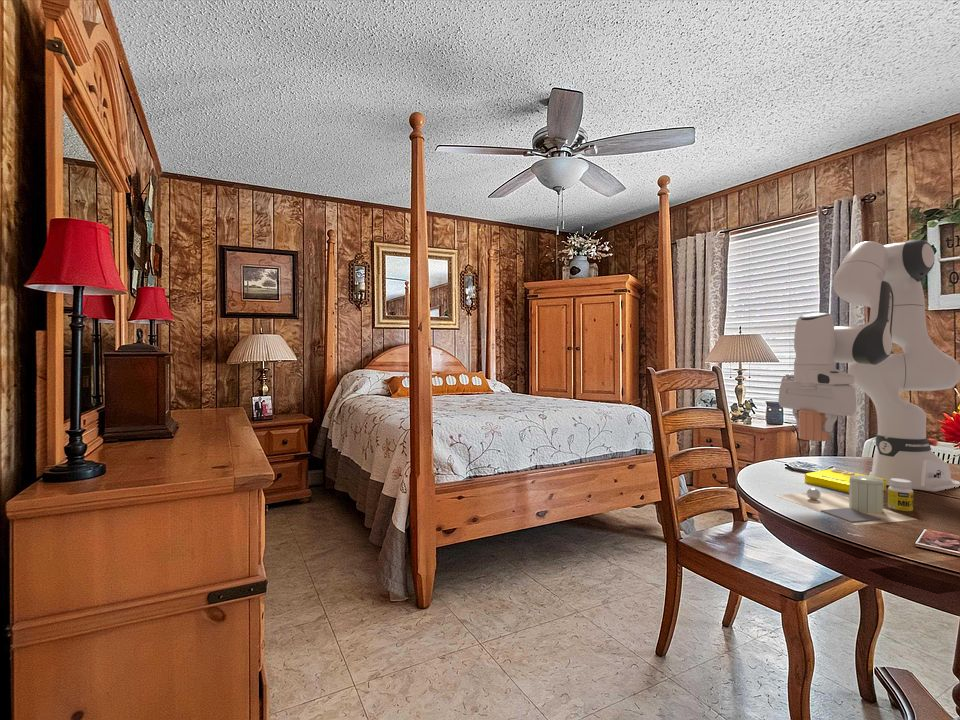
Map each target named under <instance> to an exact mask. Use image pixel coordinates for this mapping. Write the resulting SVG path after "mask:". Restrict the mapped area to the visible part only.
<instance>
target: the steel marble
mask: <svg viewBox="0 0 960 720" xmlns="http://www.w3.org/2000/svg"><path fill="white" fill-rule="evenodd" d="M820 492H821V491H820V490H819V489H818V488H814V487H811V488H809V489H807V491H806V493H807V496H808V497H809V498H810V499H811V500H818V499H819V498H820V496H821V494H820Z"/></svg>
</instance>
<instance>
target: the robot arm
mask: <svg viewBox="0 0 960 720" xmlns="http://www.w3.org/2000/svg"><path fill="white" fill-rule="evenodd" d="M935 257H936V255H935V252H934V248H933V246H932V245H931V244H930V242H928V241H926V240H925V239H909V240H907V241H902V242H895V243H894V242H893V243H889V244H882V243H880V242H877V241H872V240H871V241H870V240H869V241H862V242H859V243H857V244H855V245H854V246H853V247H851V249H850V250H849V251H848V252H847V254H846V255H845V257H844V258H843V259H842V261H841V263H840V264H839V267H838V268H837V270H836V272H835V275H834V278H833V282H832V283H833V284H832V285H833V286H832V287H833V291H834V292H835V294H836V296H838V297H839V298H840V299H841V300H843V301H845V303H846V302H847V303H849V304H851V305H857V306H863V307H867V308H870V311H869V321H868V322H865V323H864V324H859V325H840V326H838V325H835V324H834V318H833V315H832V314H831V313H827V312H816V313H815V312H813V313H807V314H802V315H800V316H798V318H797V320H796V322H795V329H794V336H793V338H794V339H793V349H794V352H795V358H794V361H793V374H790V373H788V374H785V375H784V376H783V377H782V378H781V380H780V381H781V383H780V386H779V390H778V405H779V407H780V408H785V409H790V410H791V409H792V415H793V417H794V419H795V420H796V421H795V423H796V424H795V425H796V427H799V409H803V410H810V411H817V412H819V413H825V418H827V420H826V422H825V424H822V430H823V431H826V432H829V433H832V432H834V431H833V430H834V424H835V423H836V421H837V419H838V416H842V417H845V416H853V415H854V414H855V413H856V411H857V395H856V390H855V388H854V386H856V387H857V388H859V389H860V390H861V391H863V393H865V394H866V395H867V396H868V397H869V398H870V400H871V401H872V403H873V405H874V407H875V411H876V417H877V420H876V421H877V433H876V435H875V437H874V438H875V439H874V440H875V446H876V449H875V450H874V453H873V459H872V467H871V471H870V472H869V474H868V476H872V477H877V478H882V479H885V480H886V486H888V487H889V486H891V485H890V479H891V478H899V479H905V480H909V481H911V484H912V486H911V489H912V490H920V491H927V492H940V491H945V489H946V490H951V489H955V488H959V486H960V481H958V480H955V479H953V478H951V477H952V476H951V473H952V472H951V467H950V465H949V463H947V462H946V461H945V460H943V459H942V458H941V457H940V456H938V455H937V454H936V453H934V452H933V451H932V448H931V446H933V447H937V446H938V444H939V440H937V439H936V438H927V415H926V412H925V410H924V409H923V408H922V407H920V406H918V405H916V404H914V403H912V402H910V401H907V400H905V399H903V398H902V397H901V395H900V391H914V392H915V391H916V392H917V391H918V392H923V391H924V392H933V391H941V390H942V391H943V390H949V389H950V390H951V389H953V388H954V387H955V386H956V385H957V384H958V383H959V382H960V363H959V362H958V361H957V360H956V359H955V357H952V356H950V355H949V354H947V353H946V352H944V351H942V350H941V349H940V348H938V346H936V344H935V343H934V342H933V340H932V338H931V337H930V335H929V333H928V332H929V331H928V329H927V321H926V320H927V319H926V302H925V301H926V300H925V295H924V293H925V292H924V289H923V284H922V280H924V278H925V277H926V275H928V274H929V273H930V272H931V270H932V269H933V267H934V265H935V260H936V259H935ZM893 343H894V344H896V345H898V346H900V347H901V348H902V351H903V353H892V350H893ZM836 363H837V364H838V363H840V364H841V363H845V364H846V363H847V364H848V363H849V366H848V369H847V372H844V371H842V370H840V369H837V368H836ZM853 385H854V386H853ZM954 487H955V488H954Z"/></svg>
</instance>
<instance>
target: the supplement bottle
mask: <svg viewBox="0 0 960 720" xmlns="http://www.w3.org/2000/svg"><path fill="white" fill-rule="evenodd" d="M890 485H891V486H889V485H888V488H887V507H888V508H889V509H892V510H895V511H900V512H901V511H902V512H913V510H914V489H911V486H912V484H911V481H909V480H905V479H899V478H891V479H890Z"/></svg>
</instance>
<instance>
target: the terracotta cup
mask: <svg viewBox="0 0 960 720" xmlns="http://www.w3.org/2000/svg"><path fill="white" fill-rule="evenodd" d="M826 420H827V418H825V413H819V412H817V411H810V410H803V409H799V426H798V439H800V440H804V441H810V442H811V441H813V442H828V441H830V432H826V431H823V430H822V424H825V422H826Z"/></svg>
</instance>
